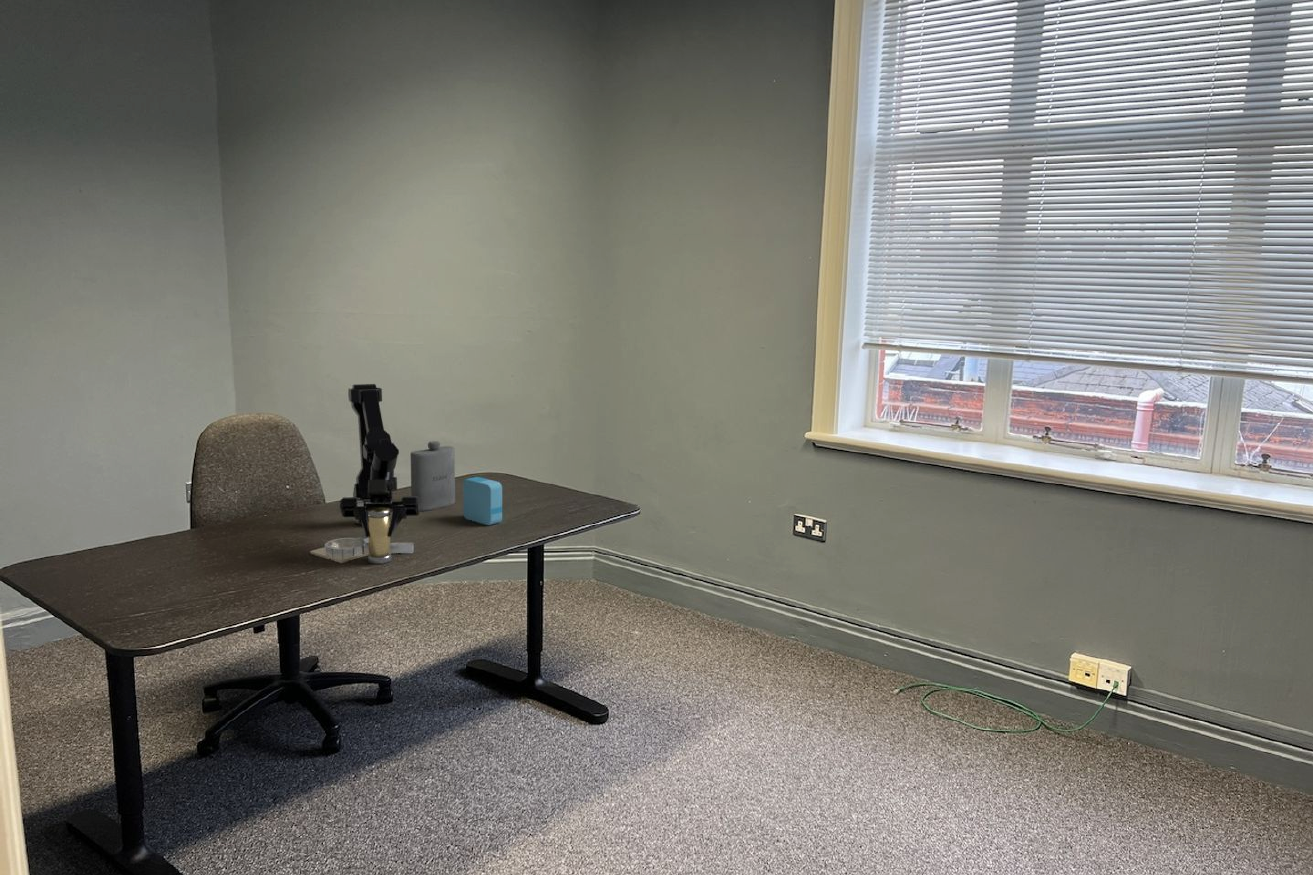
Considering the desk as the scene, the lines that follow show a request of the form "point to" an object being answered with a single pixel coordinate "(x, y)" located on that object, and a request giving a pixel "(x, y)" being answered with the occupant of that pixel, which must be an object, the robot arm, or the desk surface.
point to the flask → (433, 476)
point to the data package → (482, 500)
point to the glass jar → (379, 535)
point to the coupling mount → (355, 549)
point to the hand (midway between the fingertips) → (378, 536)
